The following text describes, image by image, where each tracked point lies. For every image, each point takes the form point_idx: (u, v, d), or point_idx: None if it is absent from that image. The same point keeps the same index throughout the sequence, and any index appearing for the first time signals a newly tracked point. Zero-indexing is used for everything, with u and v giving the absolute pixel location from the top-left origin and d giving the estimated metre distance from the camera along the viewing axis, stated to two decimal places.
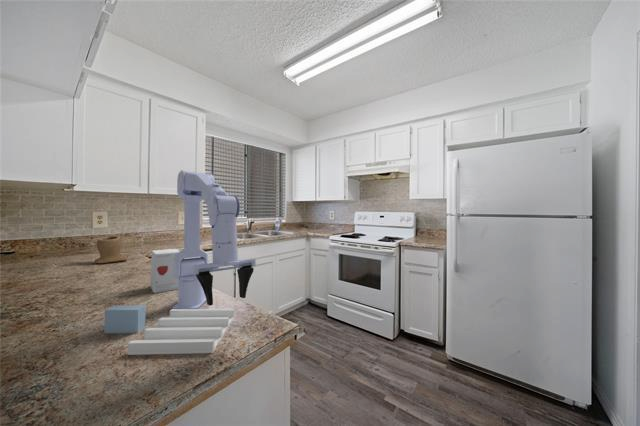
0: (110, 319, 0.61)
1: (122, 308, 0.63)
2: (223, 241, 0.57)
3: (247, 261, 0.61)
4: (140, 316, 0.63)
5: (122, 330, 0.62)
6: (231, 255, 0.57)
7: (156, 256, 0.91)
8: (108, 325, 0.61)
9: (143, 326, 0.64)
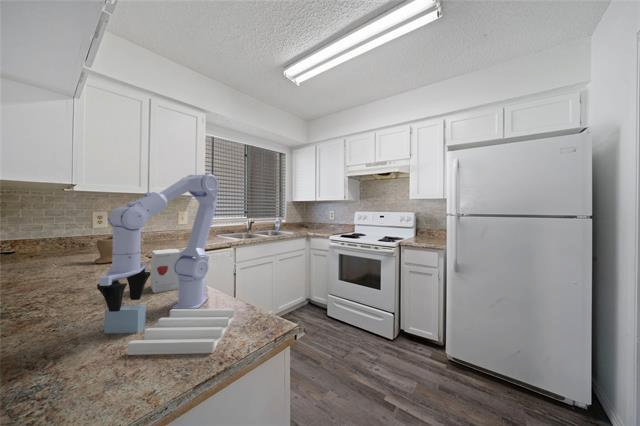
0: (110, 319, 0.61)
1: (122, 308, 0.63)
2: None
3: None
4: (140, 316, 0.63)
5: (122, 330, 0.62)
6: None
7: (156, 256, 0.91)
8: (108, 325, 0.61)
9: (143, 326, 0.64)
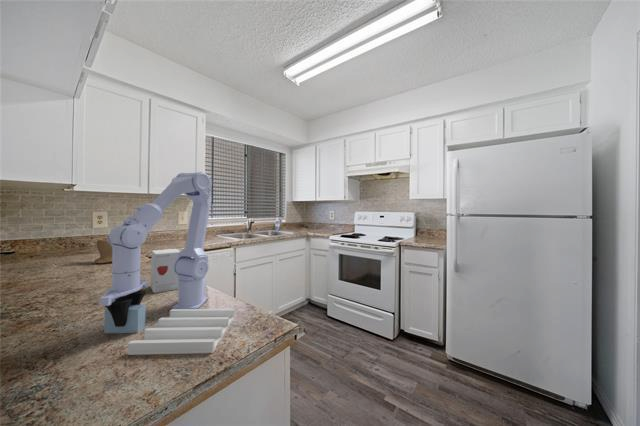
0: (110, 319, 0.61)
1: None
2: (112, 270, 0.61)
3: None
4: (140, 316, 0.63)
5: (122, 330, 0.62)
6: None
7: (156, 256, 0.91)
8: (108, 325, 0.61)
9: (143, 326, 0.64)
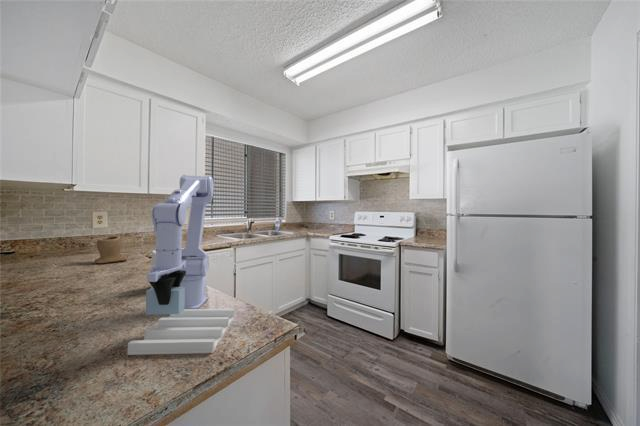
0: (151, 300, 0.61)
1: None
2: (159, 248, 0.60)
3: (150, 272, 0.58)
4: (180, 297, 0.62)
5: (163, 311, 0.61)
6: None
7: None
8: (150, 306, 0.61)
9: (183, 308, 0.64)
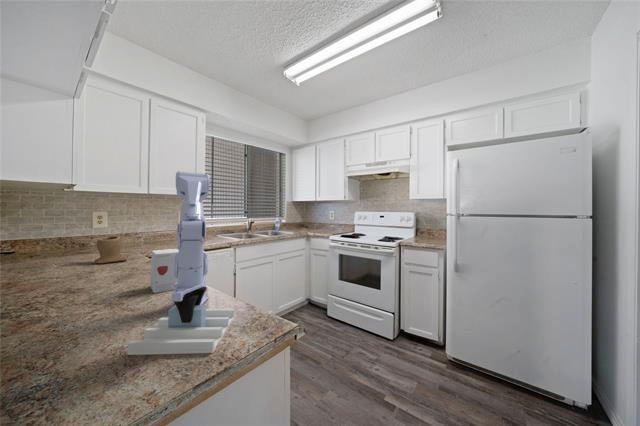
0: (174, 319, 0.61)
1: None
2: (185, 267, 0.60)
3: None
4: (202, 316, 0.62)
5: None
6: None
7: (156, 256, 0.91)
8: (172, 326, 0.61)
9: (204, 326, 0.64)
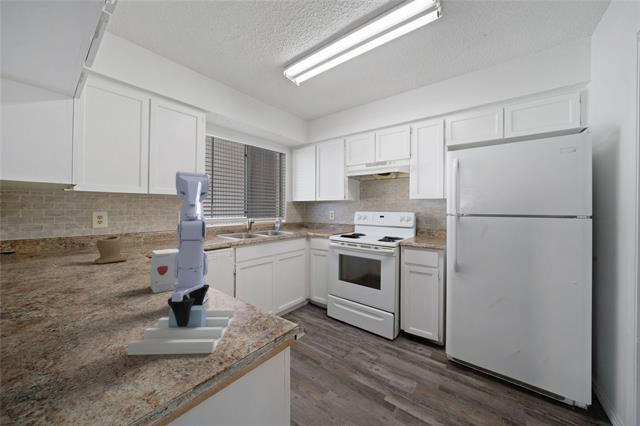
0: (174, 319, 0.61)
1: None
2: (185, 267, 0.60)
3: None
4: (203, 316, 0.62)
5: None
6: None
7: (156, 256, 0.91)
8: (172, 326, 0.61)
9: None
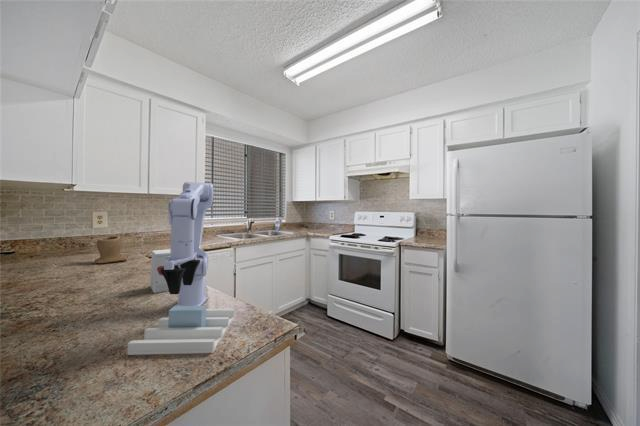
0: (174, 319, 0.61)
1: (185, 308, 0.62)
2: (175, 240, 0.65)
3: None
4: (203, 316, 0.62)
5: None
6: None
7: (156, 256, 0.91)
8: (172, 326, 0.61)
9: None
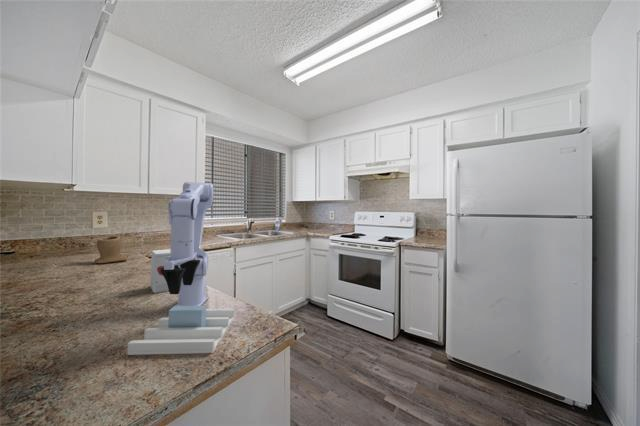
0: (174, 319, 0.61)
1: (185, 308, 0.62)
2: (175, 240, 0.65)
3: None
4: (203, 316, 0.62)
5: None
6: None
7: (156, 256, 0.91)
8: (172, 326, 0.61)
9: None
